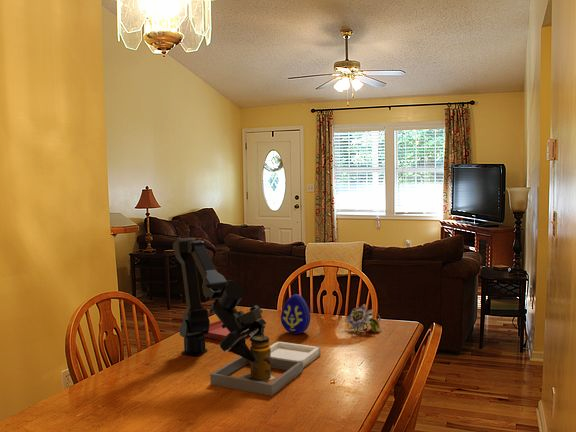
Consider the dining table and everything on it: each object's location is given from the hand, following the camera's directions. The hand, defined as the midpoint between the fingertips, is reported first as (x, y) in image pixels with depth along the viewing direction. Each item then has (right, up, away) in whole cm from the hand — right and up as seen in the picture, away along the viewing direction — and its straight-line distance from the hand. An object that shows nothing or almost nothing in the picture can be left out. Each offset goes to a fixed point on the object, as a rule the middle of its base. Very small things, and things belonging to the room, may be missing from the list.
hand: (261, 356), depth 153 cm
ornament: (+11, -4, +46) cm, 48 cm away
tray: (+8, -5, +18) cm, 20 cm away
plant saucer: (-15, -4, +46) cm, 48 cm away
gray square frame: (-1, -7, +1) cm, 7 cm away
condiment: (-1, -7, +1) cm, 7 cm away
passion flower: (+37, -3, +49) cm, 61 cm away
